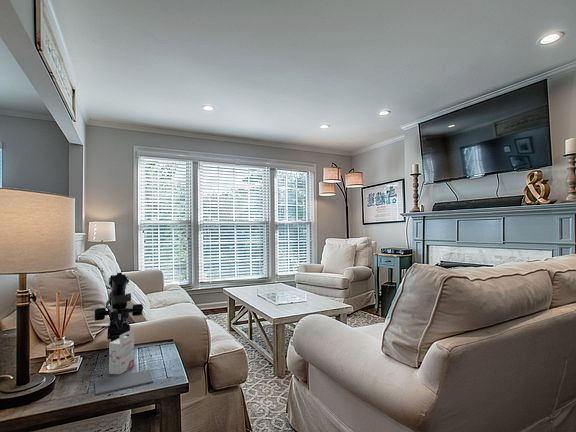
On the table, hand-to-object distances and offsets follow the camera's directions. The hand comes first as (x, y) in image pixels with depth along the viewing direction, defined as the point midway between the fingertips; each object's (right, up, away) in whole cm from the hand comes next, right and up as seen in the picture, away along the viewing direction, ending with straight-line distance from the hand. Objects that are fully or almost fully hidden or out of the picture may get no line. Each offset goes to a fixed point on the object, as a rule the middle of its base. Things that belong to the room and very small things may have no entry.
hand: (119, 329), depth 140 cm
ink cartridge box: (+6, -12, -10) cm, 17 cm away
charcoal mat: (+12, -12, -21) cm, 27 cm away
